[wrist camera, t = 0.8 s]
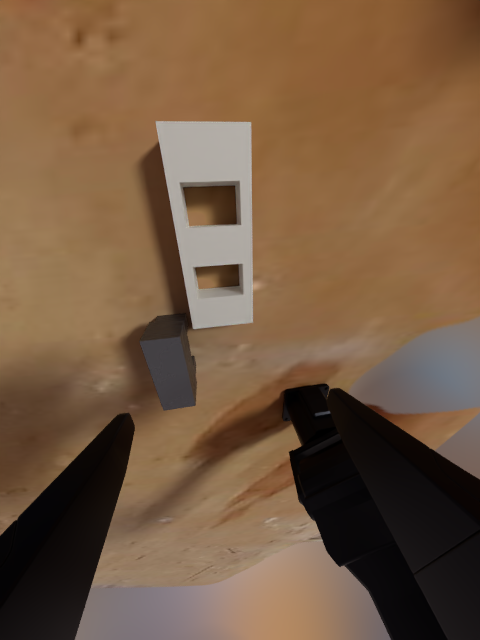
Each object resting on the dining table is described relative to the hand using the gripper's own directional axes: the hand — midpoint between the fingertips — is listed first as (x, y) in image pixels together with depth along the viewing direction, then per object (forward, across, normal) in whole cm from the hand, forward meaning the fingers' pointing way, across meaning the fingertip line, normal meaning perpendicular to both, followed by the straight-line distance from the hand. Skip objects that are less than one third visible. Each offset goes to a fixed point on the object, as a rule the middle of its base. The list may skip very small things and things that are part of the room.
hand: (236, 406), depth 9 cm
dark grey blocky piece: (+12, +5, +5) cm, 14 cm away
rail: (+12, 0, -6) cm, 14 cm away
